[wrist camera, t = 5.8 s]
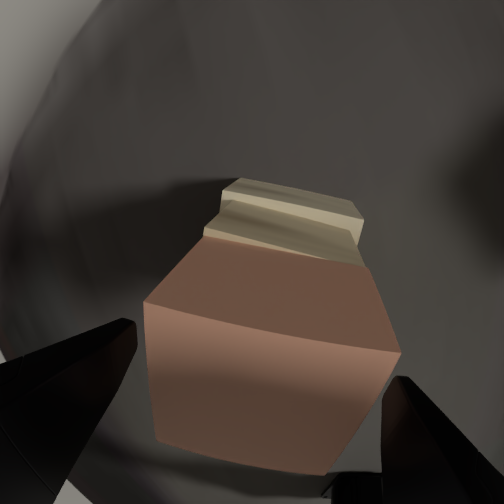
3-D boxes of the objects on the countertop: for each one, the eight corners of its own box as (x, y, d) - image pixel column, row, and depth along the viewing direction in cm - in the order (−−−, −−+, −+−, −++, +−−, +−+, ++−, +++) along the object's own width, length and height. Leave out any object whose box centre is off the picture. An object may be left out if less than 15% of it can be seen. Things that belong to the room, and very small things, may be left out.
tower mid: (314, 327, 15) (314, 385, 11) (213, 300, 15) (186, 352, 11) (349, 230, 13) (366, 270, 9) (233, 199, 13) (204, 227, 9)
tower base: (324, 297, 18) (327, 337, 15) (226, 276, 19) (207, 310, 15) (350, 200, 16) (364, 220, 12) (241, 177, 17) (222, 190, 13)
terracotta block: (324, 386, 11) (324, 475, 7) (195, 359, 11) (156, 440, 8) (368, 267, 9) (401, 353, 5) (204, 235, 9) (143, 301, 6)
